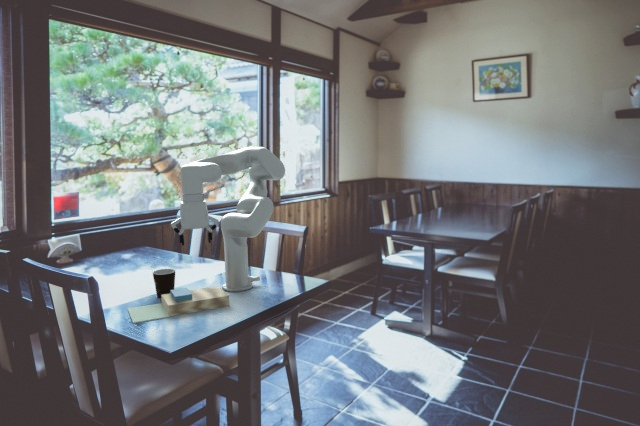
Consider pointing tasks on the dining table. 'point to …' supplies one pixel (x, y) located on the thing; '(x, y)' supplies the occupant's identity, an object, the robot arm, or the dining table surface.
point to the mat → (147, 313)
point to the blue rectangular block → (181, 294)
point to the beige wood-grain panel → (196, 301)
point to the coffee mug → (164, 281)
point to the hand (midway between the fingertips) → (196, 243)
